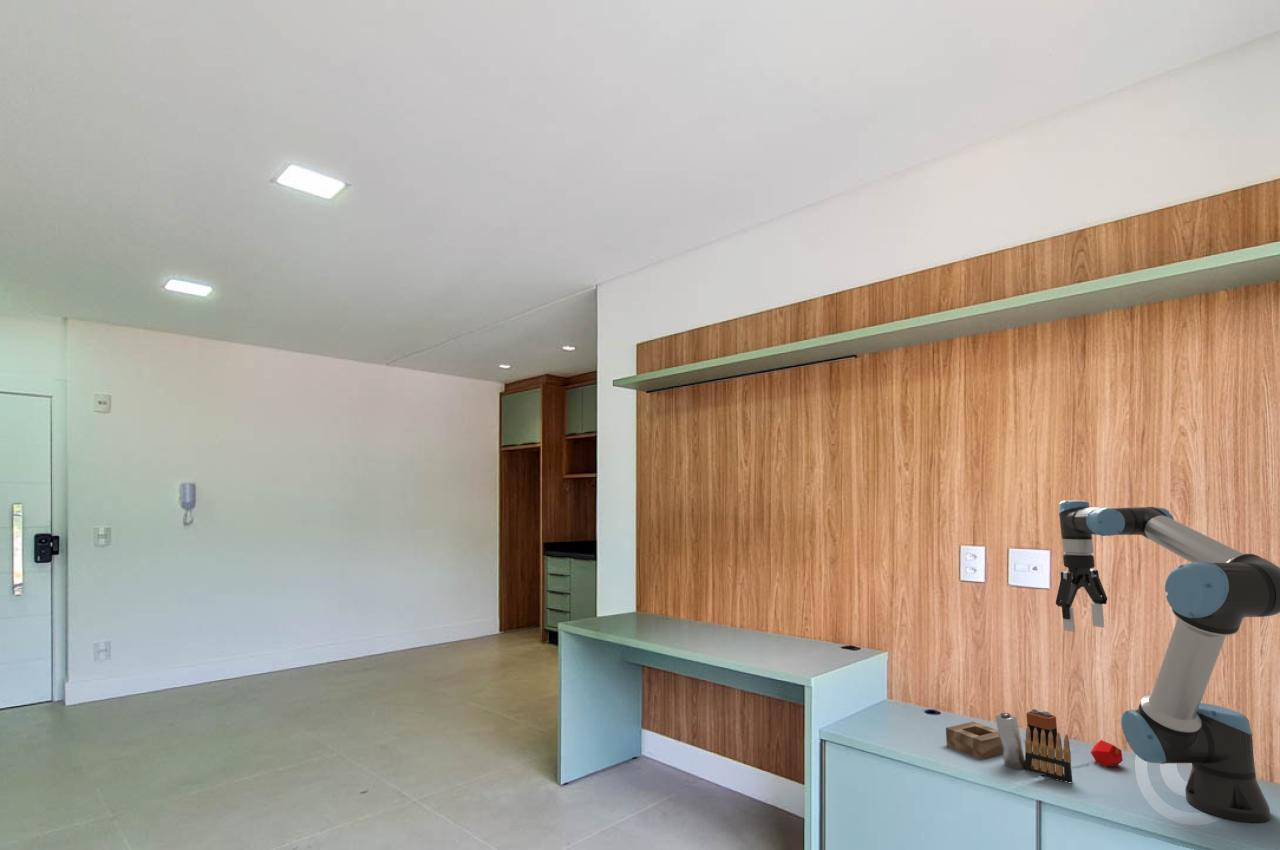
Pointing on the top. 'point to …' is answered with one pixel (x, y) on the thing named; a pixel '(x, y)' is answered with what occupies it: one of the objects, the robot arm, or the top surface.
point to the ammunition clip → (1048, 756)
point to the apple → (1106, 754)
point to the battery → (1042, 724)
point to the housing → (974, 740)
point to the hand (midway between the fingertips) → (1084, 628)
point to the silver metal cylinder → (1010, 741)
